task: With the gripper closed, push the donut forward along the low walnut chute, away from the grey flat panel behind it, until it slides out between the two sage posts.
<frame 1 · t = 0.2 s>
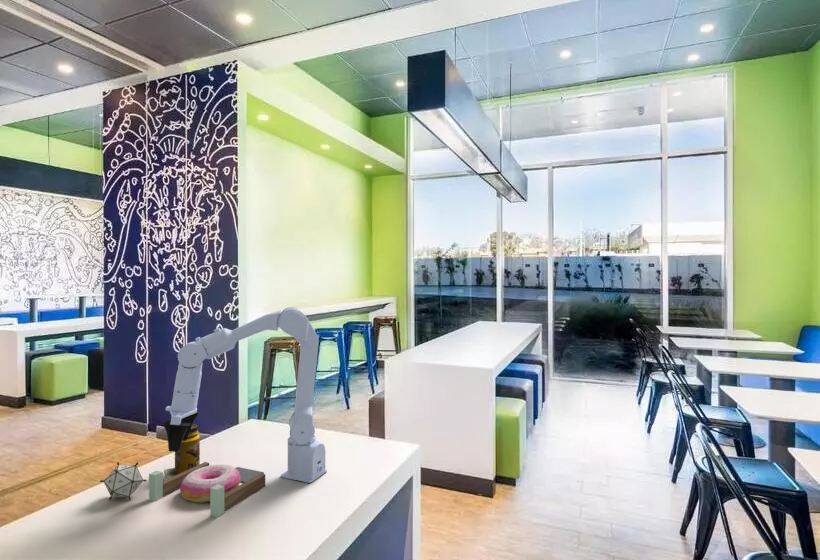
hand: (178, 445, 114), 10 cm above the table, fingers open, 7 cm apart
condiment: (183, 472, 123), on the table
donut: (211, 493, 111), on the table
grey flat panel: (241, 475, 121), on the table
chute: (213, 491, 112), on the table
game die: (123, 498, 109), on the table
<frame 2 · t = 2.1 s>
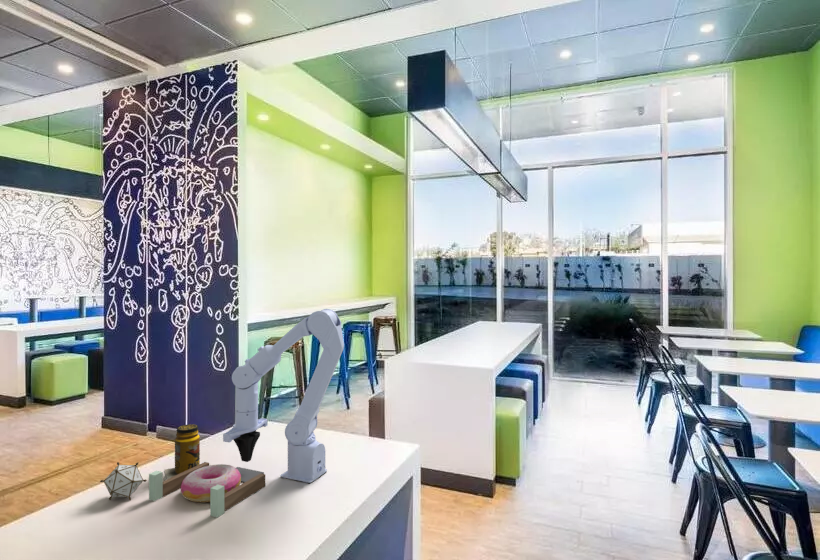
hand: (246, 460, 122), 3 cm above the table, fingers closed
nothing on the table moved.
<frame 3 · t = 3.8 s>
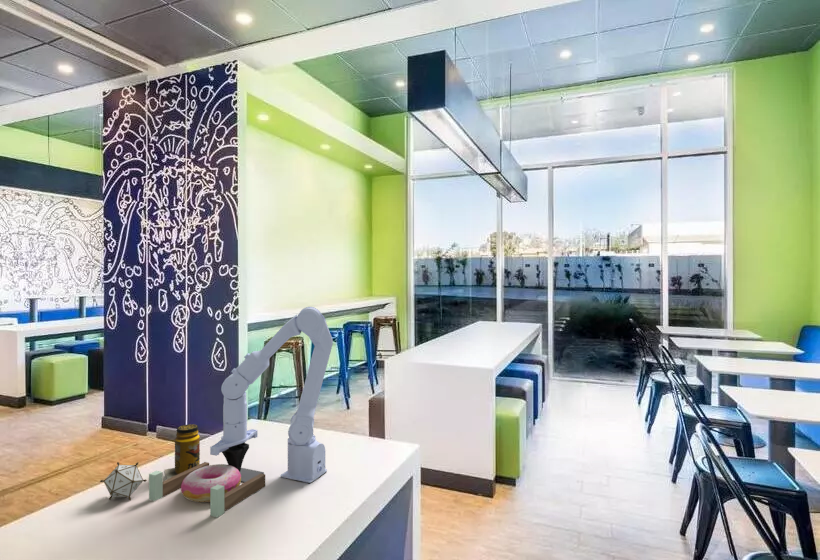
hand: (235, 473, 119), 1 cm above the table, fingers closed
donut: (212, 493, 111), on the table, touching gripper
everything else where it was.
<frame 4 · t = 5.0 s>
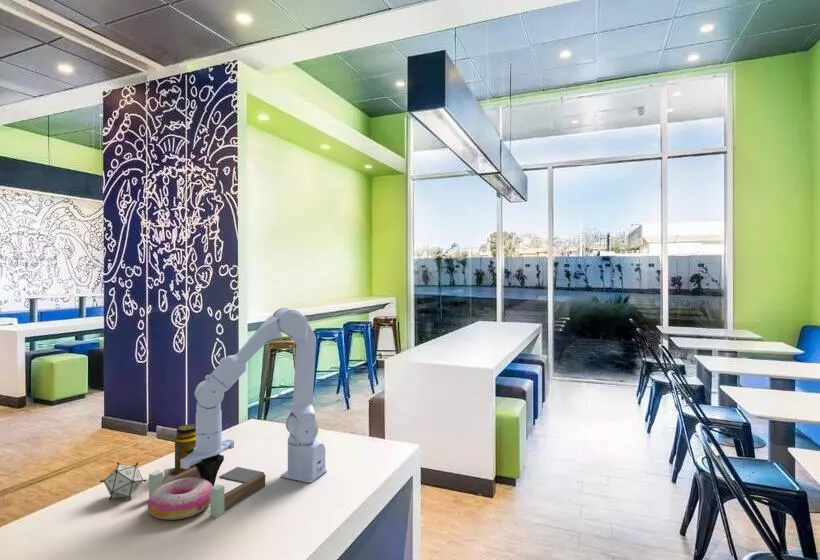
hand: (208, 487, 111), 1 cm above the table, fingers closed
donut: (182, 509, 104), on the table, touching gripper
everything else where it was.
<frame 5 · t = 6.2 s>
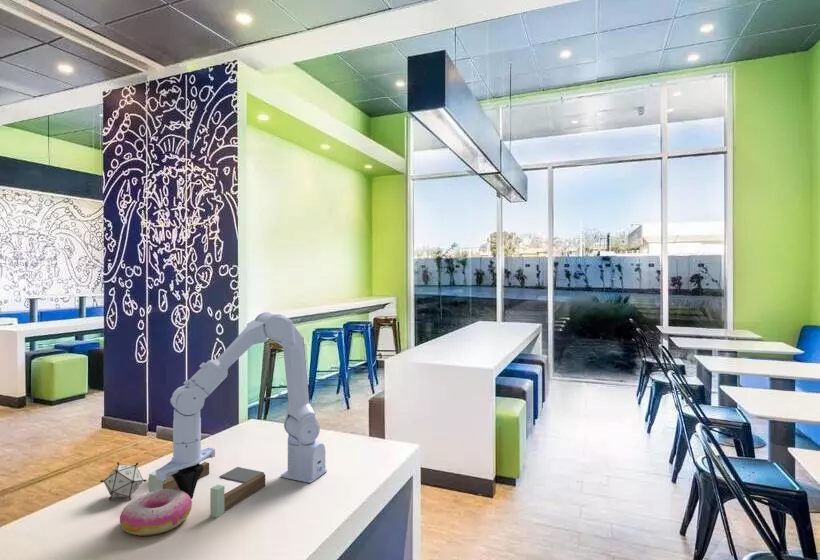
hand: (187, 499, 105), 1 cm above the table, fingers closed
donut: (157, 523, 98), on the table, touching gripper
everything else where it was.
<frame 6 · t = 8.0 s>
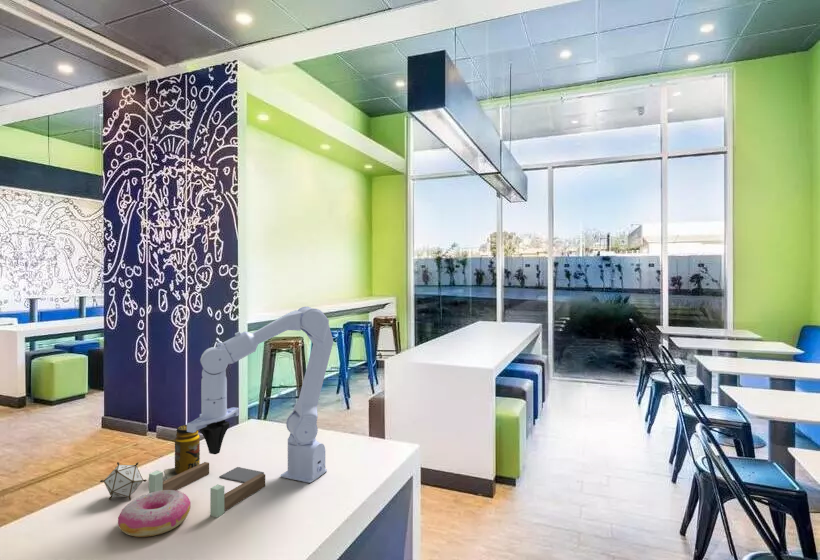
hand: (214, 453, 112), 9 cm above the table, fingers closed
donut: (156, 524, 97), on the table
everything else where it was.
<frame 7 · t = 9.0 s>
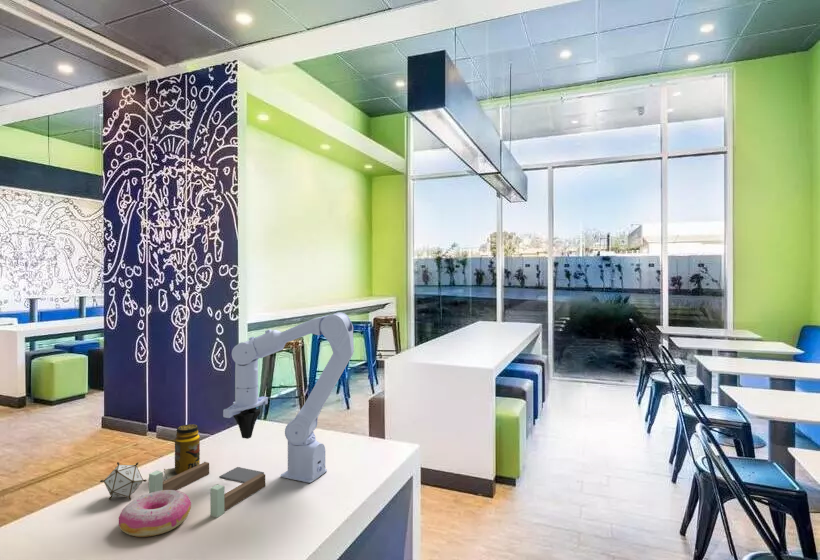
hand: (246, 437, 122), 9 cm above the table, fingers closed
nothing on the table moved.
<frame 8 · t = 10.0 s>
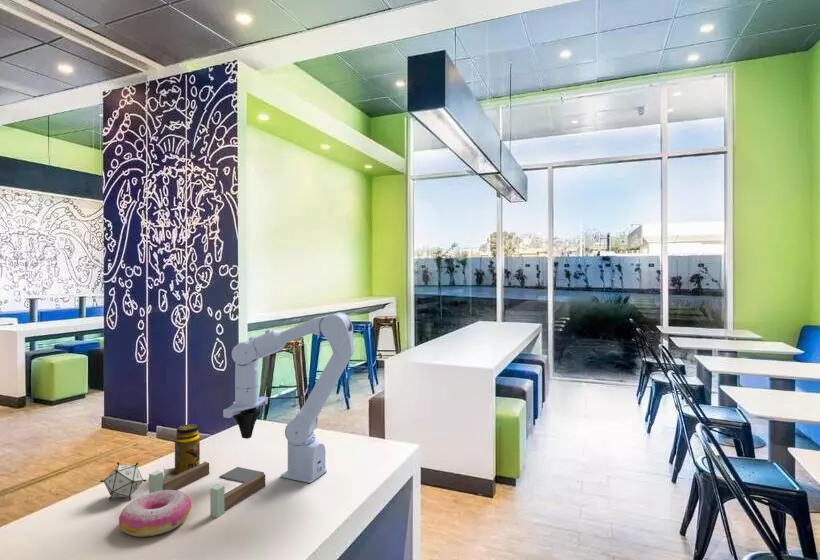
hand: (246, 437, 122), 9 cm above the table, fingers closed
nothing on the table moved.
at the end: donut inside the target area (1.9 cm from its centre), on the table; donut tilted 0°; donut moved 15.1 cm from its start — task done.
